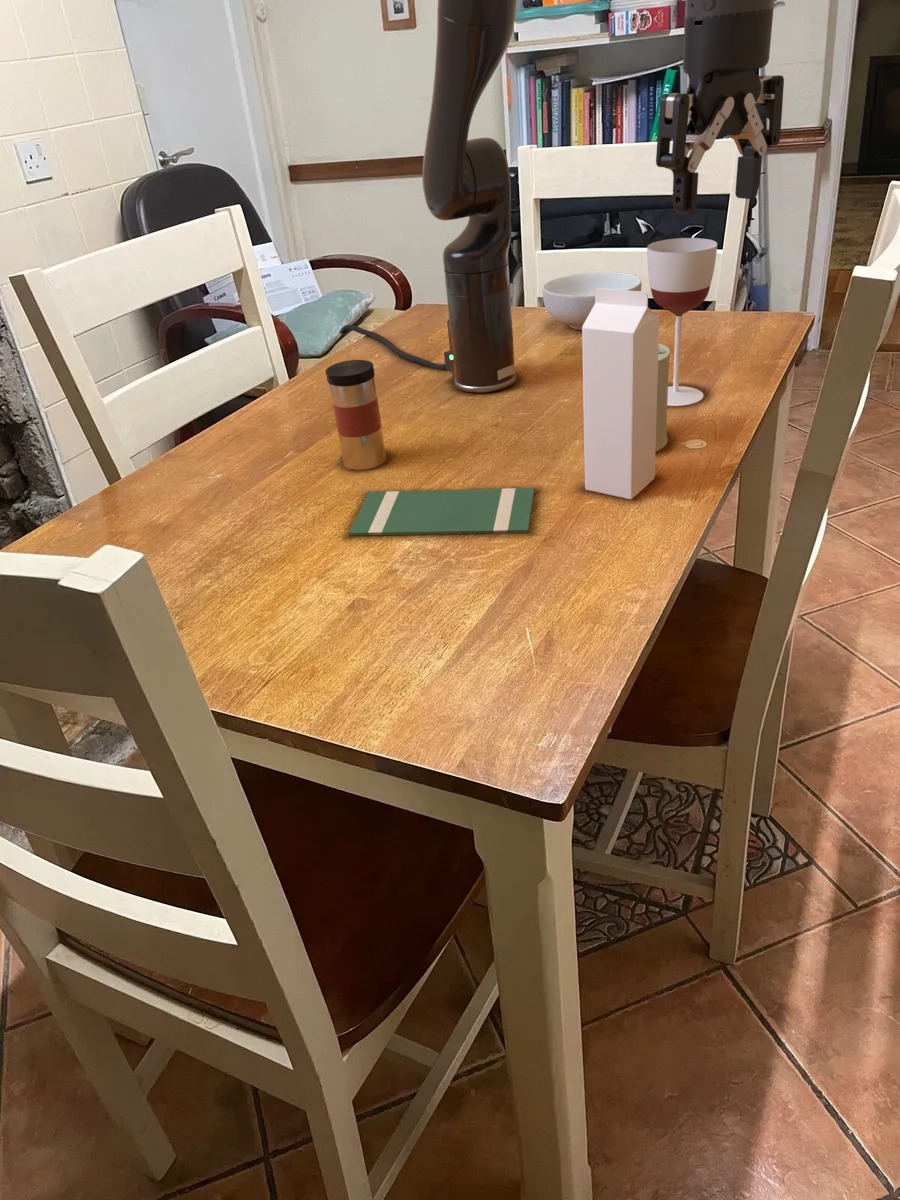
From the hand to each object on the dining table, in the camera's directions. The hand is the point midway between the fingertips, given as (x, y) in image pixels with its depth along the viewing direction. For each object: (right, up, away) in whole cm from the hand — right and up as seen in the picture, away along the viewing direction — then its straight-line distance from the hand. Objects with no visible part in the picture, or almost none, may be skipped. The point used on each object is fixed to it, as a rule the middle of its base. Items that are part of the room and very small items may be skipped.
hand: (715, 206), depth 86 cm
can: (-3, -19, +25) cm, 31 cm away
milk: (-6, -26, +15) cm, 30 cm away
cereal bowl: (-1, +10, +68) cm, 68 cm away
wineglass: (+5, -10, +36) cm, 38 cm away
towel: (-27, -29, +14) cm, 42 cm away
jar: (-37, -21, +28) cm, 51 cm away
